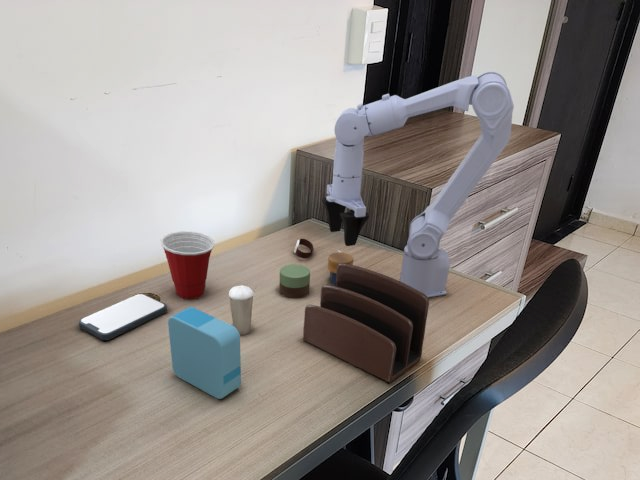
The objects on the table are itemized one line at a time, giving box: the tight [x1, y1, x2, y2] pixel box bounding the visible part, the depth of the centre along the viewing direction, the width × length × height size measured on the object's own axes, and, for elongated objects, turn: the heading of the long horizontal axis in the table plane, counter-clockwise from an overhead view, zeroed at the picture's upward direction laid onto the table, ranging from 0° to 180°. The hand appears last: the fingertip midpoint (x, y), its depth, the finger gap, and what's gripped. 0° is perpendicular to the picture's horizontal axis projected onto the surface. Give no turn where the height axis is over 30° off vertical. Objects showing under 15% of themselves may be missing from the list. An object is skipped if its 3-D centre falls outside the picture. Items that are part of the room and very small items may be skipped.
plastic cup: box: [160, 230, 216, 300], centre depth 128 cm, size 11×11×12 cm
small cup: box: [329, 271, 337, 286], centre depth 136 cm, size 4×4×3 cm
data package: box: [167, 306, 242, 400], centre depth 101 cm, size 12×4×12 cm, turn 51°
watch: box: [293, 238, 315, 260], centre depth 147 cm, size 8×5×4 cm, turn 174°
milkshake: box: [228, 283, 259, 336], centre depth 116 cm, size 5×5×10 cm
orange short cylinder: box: [327, 251, 355, 273], centre depth 134 cm, size 5×5×3 cm
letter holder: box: [302, 263, 430, 384], centre depth 110 cm, size 10×20×14 cm, turn 47°
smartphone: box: [78, 293, 168, 341], centre depth 121 cm, size 9×2×16 cm
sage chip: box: [279, 263, 311, 288], centre depth 130 cm, size 6×6×2 cm
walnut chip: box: [278, 281, 311, 299], centre depth 132 cm, size 6×6×2 cm
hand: (342, 237), depth 131 cm, fingers open, 7 cm apart
